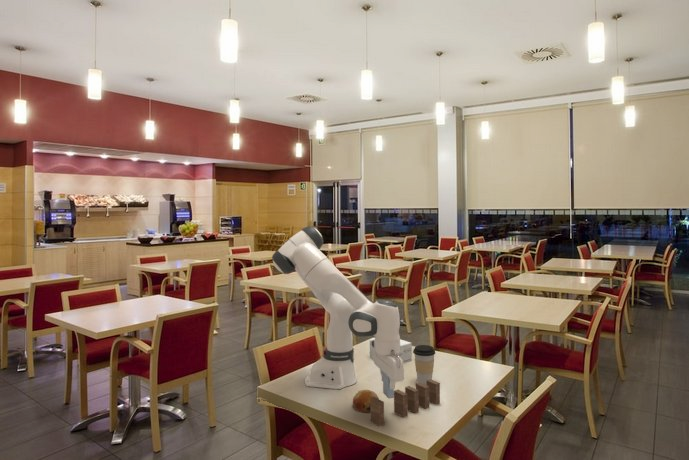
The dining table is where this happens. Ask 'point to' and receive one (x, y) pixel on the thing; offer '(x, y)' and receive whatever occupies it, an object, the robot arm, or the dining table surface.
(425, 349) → the coffee cup
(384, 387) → the domino
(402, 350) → the supplement box
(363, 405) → the bread roll
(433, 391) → the domino
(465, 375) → the dining table surface
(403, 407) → the domino
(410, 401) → the domino
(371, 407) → the domino
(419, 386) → the domino
